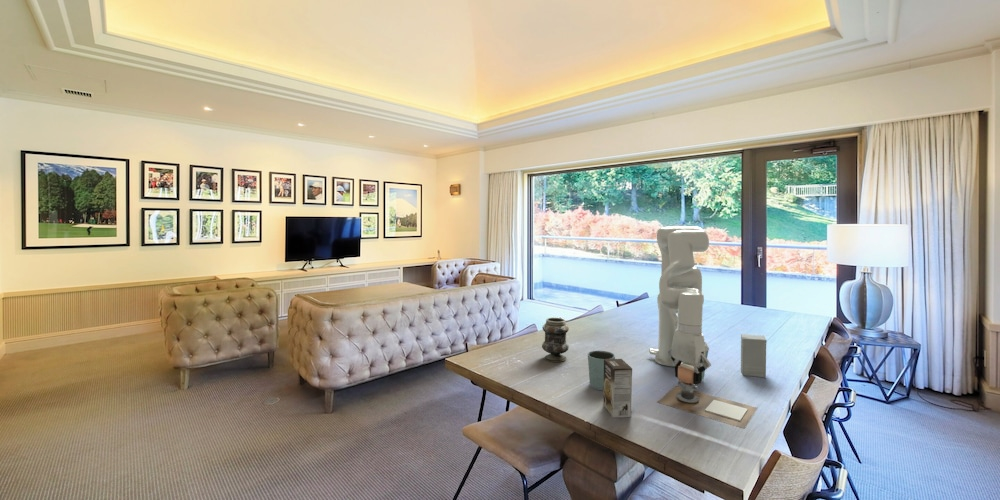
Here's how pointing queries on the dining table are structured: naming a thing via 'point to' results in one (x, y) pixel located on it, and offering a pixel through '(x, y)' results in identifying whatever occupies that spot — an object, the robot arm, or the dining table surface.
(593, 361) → the teal cup
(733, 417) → the pad
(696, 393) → the board
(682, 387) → the round metal knob
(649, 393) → the dining table surface
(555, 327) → the apothecary jar
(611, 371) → the coffee box
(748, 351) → the skincare box
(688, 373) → the cap
